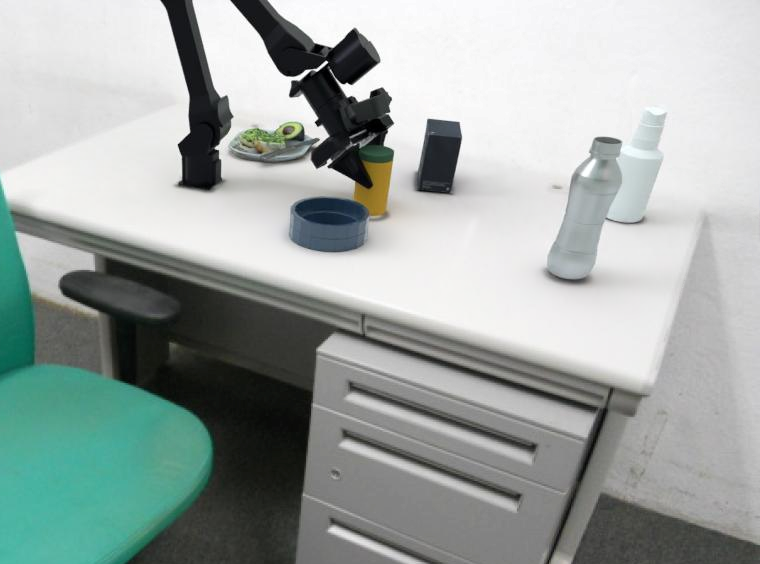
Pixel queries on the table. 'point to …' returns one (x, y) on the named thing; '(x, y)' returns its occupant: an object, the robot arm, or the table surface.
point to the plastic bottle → (586, 210)
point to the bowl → (329, 223)
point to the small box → (439, 155)
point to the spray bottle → (639, 167)
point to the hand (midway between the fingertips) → (379, 182)
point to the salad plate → (272, 143)
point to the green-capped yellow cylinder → (375, 178)
